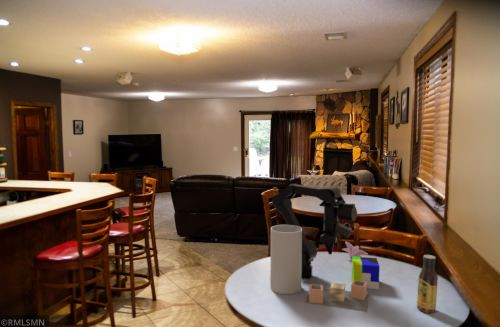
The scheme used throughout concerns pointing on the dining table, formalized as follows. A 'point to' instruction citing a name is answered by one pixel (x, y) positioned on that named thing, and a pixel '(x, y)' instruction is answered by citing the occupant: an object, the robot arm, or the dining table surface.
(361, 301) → the mat
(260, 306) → the dining table surface
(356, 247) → the lily
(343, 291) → the plain block
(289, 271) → the cylinder vase
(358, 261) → the puzzle toy
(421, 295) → the sauce bottle
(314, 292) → the labelled block left
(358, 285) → the labelled block right
